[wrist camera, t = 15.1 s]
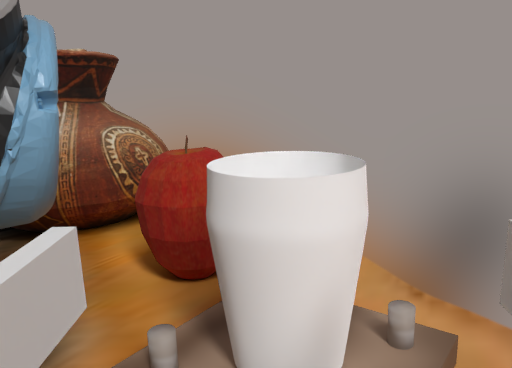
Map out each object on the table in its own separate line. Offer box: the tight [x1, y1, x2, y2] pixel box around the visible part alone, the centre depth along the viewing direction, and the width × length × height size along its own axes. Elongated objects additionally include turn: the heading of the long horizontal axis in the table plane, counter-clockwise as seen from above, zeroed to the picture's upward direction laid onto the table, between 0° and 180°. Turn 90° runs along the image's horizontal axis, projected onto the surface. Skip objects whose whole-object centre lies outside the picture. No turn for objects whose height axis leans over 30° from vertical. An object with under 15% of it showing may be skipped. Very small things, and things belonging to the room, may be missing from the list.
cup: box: [206, 151, 368, 368], centre depth 25 cm, size 9×9×12 cm
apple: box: [135, 136, 223, 279], centre depth 43 cm, size 10×10×14 cm
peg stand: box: [112, 300, 458, 368], centre depth 27 cm, size 16×16×4 cm
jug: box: [12, 49, 169, 232], centre depth 63 cm, size 30×30×25 cm
